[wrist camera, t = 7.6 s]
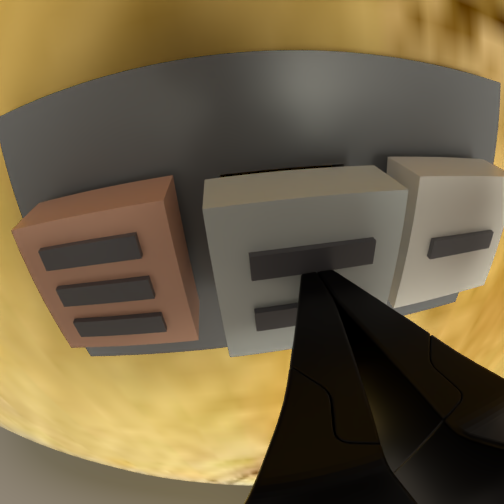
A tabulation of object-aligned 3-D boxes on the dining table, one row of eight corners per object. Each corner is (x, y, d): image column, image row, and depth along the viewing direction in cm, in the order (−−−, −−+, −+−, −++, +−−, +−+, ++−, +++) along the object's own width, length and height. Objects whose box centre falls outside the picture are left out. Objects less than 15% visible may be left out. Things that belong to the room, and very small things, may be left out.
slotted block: (177, 163, 10) (162, 203, 7) (200, 280, 13) (198, 344, 10) (54, 189, 10) (8, 233, 7) (93, 292, 13) (69, 351, 10)
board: (482, 79, 9) (500, 82, 8) (444, 288, 16) (455, 301, 15) (12, 112, 8) (-5, 118, 7) (96, 339, 15) (91, 356, 14)
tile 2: (356, 153, 10) (412, 192, 7) (347, 274, 12) (381, 335, 9) (205, 166, 9) (201, 212, 6) (225, 291, 12) (230, 362, 9)
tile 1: (464, 149, 11) (519, 179, 8) (445, 245, 13) (486, 287, 11) (370, 147, 11) (423, 178, 8) (360, 259, 13) (395, 311, 10)
